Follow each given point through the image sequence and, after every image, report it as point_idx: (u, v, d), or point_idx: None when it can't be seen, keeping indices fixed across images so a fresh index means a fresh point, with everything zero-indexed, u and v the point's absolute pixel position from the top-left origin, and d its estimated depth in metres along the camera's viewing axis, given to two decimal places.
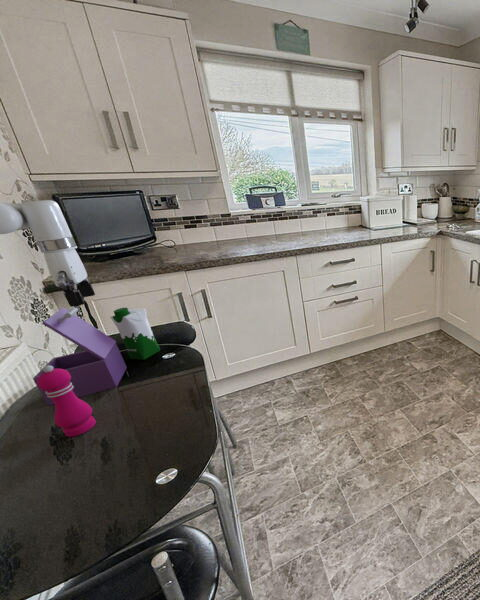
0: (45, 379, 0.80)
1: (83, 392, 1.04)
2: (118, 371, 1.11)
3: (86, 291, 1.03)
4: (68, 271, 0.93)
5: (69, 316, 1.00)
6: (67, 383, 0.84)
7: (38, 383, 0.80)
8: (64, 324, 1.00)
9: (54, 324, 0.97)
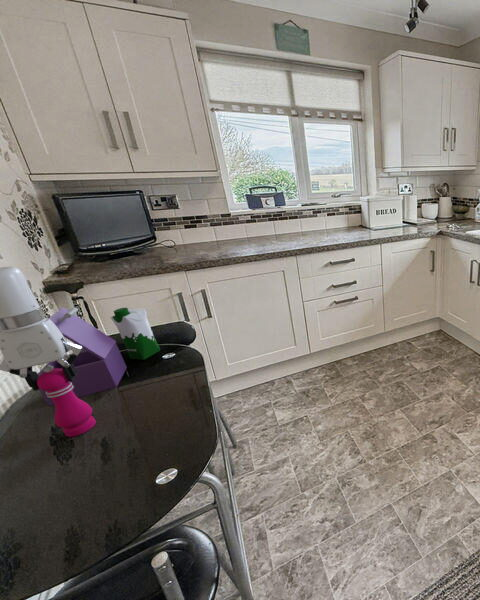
0: (45, 379, 0.80)
1: (83, 392, 1.04)
2: (118, 371, 1.11)
3: None
4: None
5: (69, 316, 1.00)
6: (67, 383, 0.84)
7: (38, 383, 0.80)
8: (64, 324, 1.00)
9: None
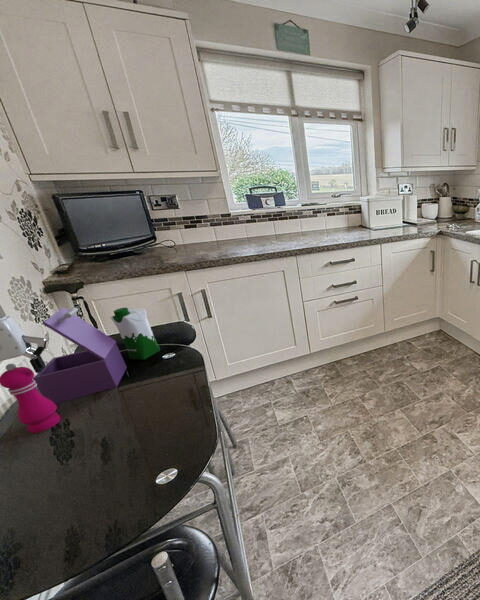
0: (6, 377, 0.83)
1: (83, 392, 1.04)
2: (118, 371, 1.11)
3: None
4: (25, 335, 0.85)
5: (69, 316, 1.00)
6: (30, 381, 0.87)
7: (0, 381, 0.83)
8: (64, 324, 1.00)
9: (54, 324, 0.97)
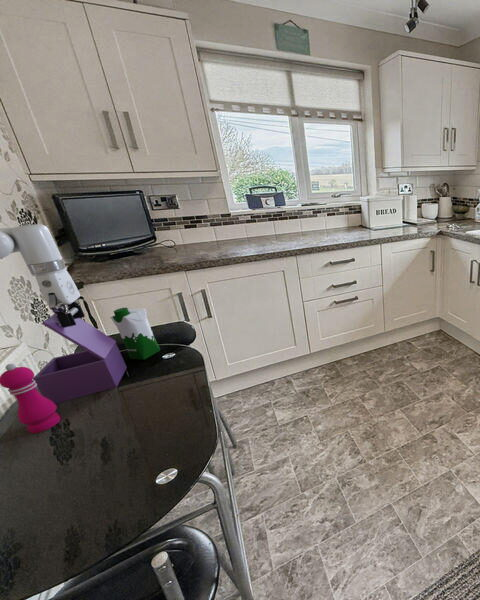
0: (6, 377, 0.83)
1: (83, 392, 1.04)
2: (118, 371, 1.11)
3: None
4: None
5: None
6: (30, 381, 0.87)
7: (0, 381, 0.83)
8: None
9: (54, 324, 0.97)
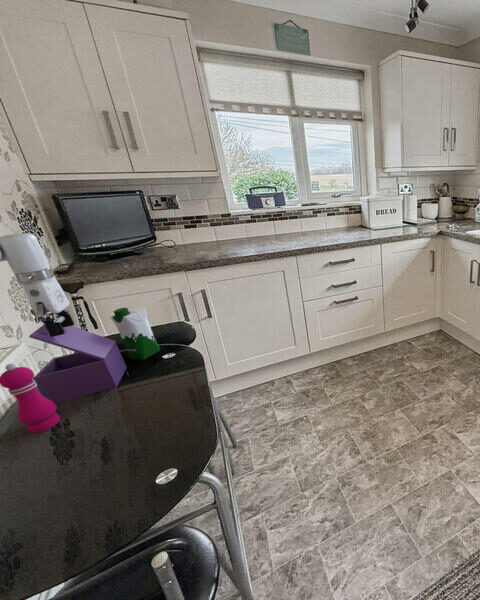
0: (6, 377, 0.83)
1: (83, 392, 1.04)
2: (118, 371, 1.11)
3: None
4: None
5: None
6: (30, 381, 0.87)
7: (0, 381, 0.83)
8: None
9: (42, 335, 0.96)
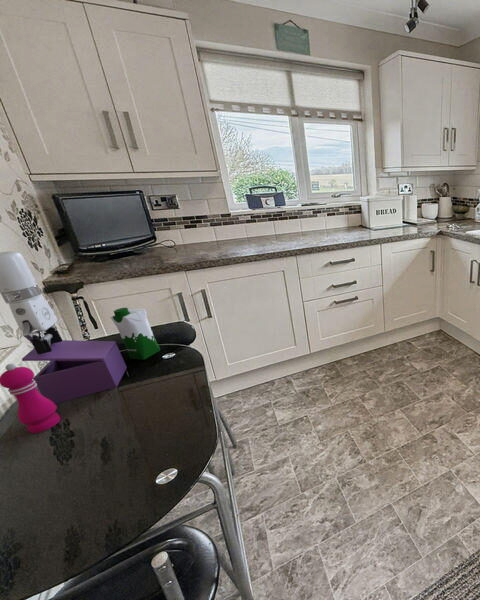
0: (6, 377, 0.83)
1: (83, 392, 1.04)
2: (118, 371, 1.11)
3: None
4: None
5: None
6: (30, 381, 0.87)
7: (0, 381, 0.83)
8: None
9: (35, 355, 0.97)
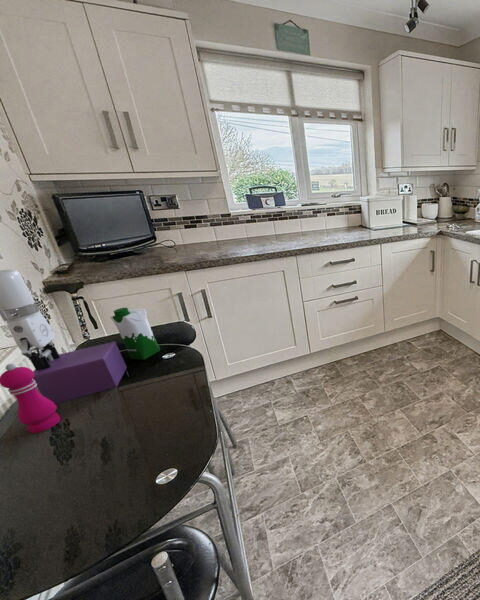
0: (6, 377, 0.83)
1: (83, 392, 1.04)
2: (118, 371, 1.11)
3: None
4: None
5: None
6: (30, 381, 0.87)
7: (0, 381, 0.83)
8: (51, 366, 1.01)
9: (39, 372, 0.98)
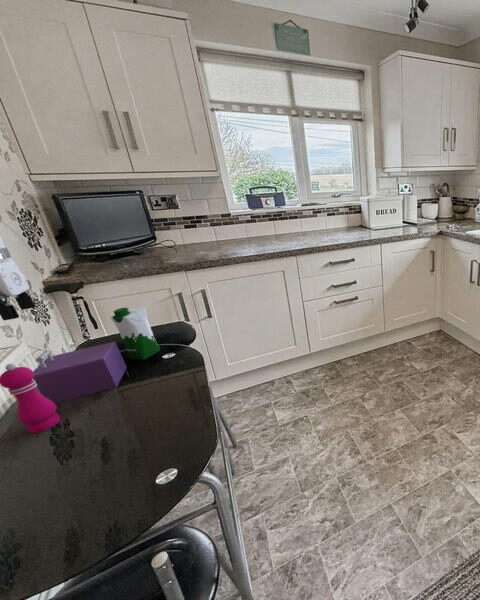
0: (6, 377, 0.83)
1: (83, 392, 1.04)
2: (118, 371, 1.11)
3: None
4: None
5: (41, 359, 0.99)
6: (30, 381, 0.87)
7: (0, 381, 0.83)
8: (51, 366, 1.01)
9: (39, 372, 0.98)
